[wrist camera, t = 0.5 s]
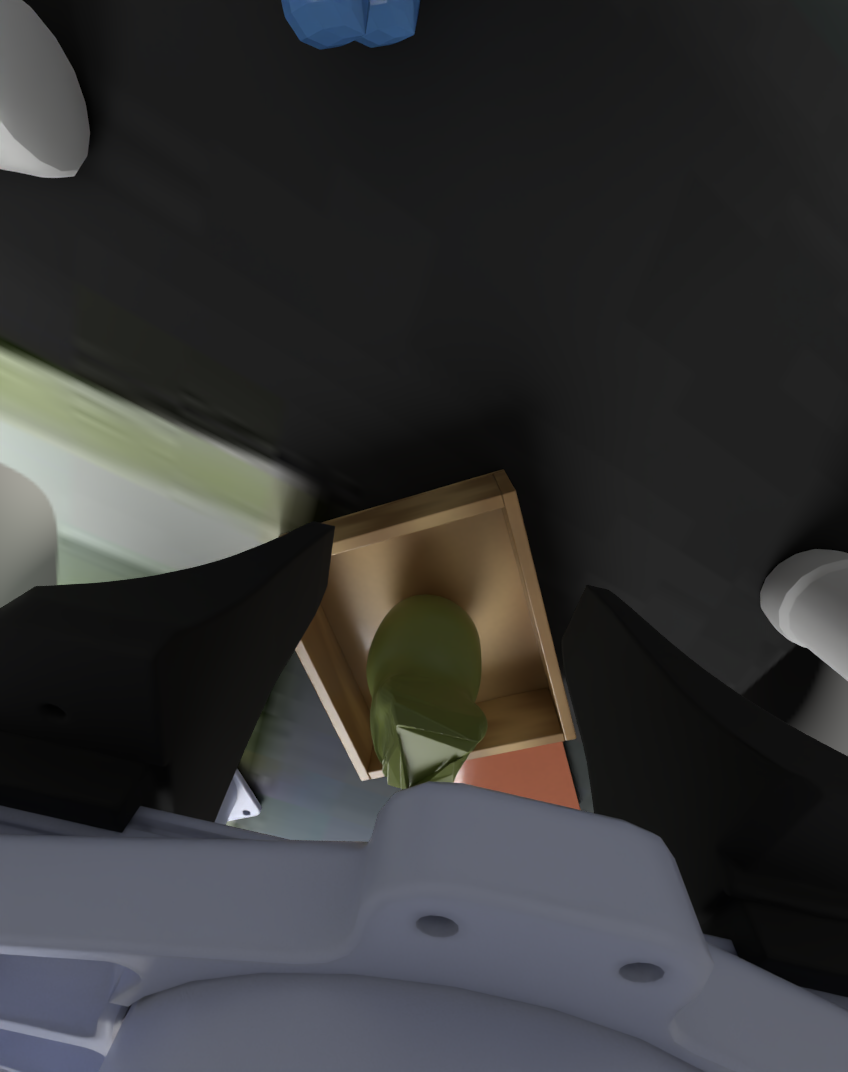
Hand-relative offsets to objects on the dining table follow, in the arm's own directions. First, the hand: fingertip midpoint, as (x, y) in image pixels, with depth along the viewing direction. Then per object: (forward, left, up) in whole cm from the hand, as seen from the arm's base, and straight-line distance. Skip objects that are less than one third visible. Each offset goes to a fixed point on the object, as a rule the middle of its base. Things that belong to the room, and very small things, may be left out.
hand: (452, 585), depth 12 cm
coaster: (-2, -20, -11) cm, 23 cm away
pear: (-3, -7, -10) cm, 13 cm away
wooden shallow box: (-3, -7, -11) cm, 13 cm away
